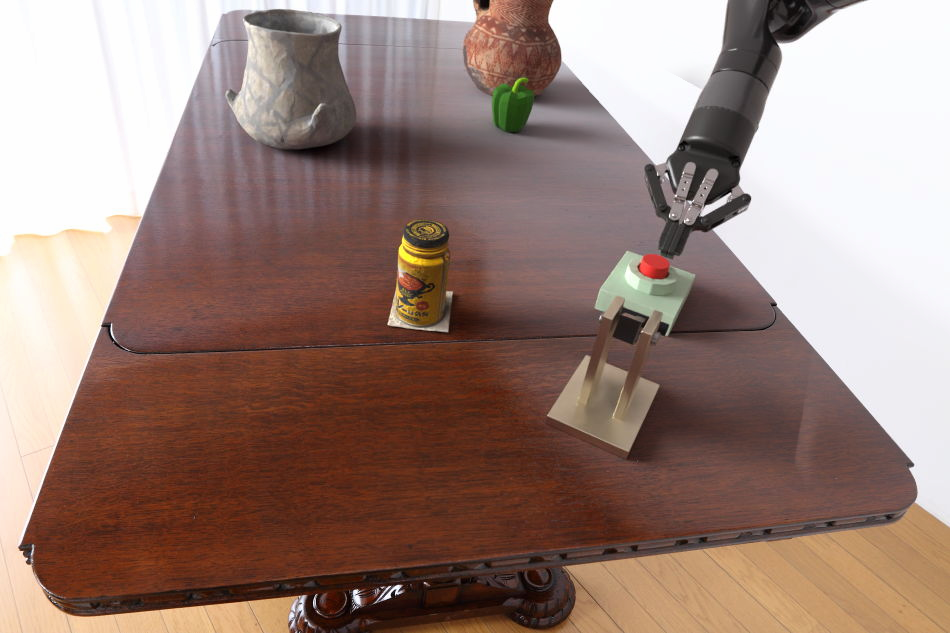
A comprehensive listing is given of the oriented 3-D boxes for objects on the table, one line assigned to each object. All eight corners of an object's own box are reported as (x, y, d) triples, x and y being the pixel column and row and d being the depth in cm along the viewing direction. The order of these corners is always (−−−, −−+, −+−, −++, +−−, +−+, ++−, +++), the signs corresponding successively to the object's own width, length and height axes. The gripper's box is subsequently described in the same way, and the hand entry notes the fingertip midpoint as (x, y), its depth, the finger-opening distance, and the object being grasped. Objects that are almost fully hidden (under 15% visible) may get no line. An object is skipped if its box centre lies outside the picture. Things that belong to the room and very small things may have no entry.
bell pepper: (492, 134, 133) (499, 84, 127) (485, 119, 140) (491, 69, 134) (533, 137, 135) (542, 87, 129) (524, 121, 141) (533, 73, 135)
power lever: (614, 320, 79) (621, 301, 79) (663, 339, 77) (671, 319, 77) (594, 329, 68) (602, 307, 67) (651, 352, 66) (660, 329, 65)
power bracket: (583, 362, 80) (609, 271, 73) (657, 392, 78) (691, 301, 70) (544, 423, 71) (569, 327, 64) (626, 460, 69) (662, 364, 61)
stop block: (621, 269, 98) (630, 239, 95) (689, 293, 95) (700, 263, 92) (594, 308, 89) (603, 277, 86) (667, 337, 86) (679, 305, 83)
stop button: (643, 261, 92) (646, 250, 90) (669, 271, 90) (673, 260, 89) (635, 273, 89) (639, 262, 88) (662, 283, 88) (666, 272, 87)
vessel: (248, 108, 129) (239, -6, 117) (365, 123, 130) (367, 12, 118) (208, 154, 112) (193, 26, 100) (343, 171, 113) (344, 47, 101)
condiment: (387, 326, 81) (392, 240, 74) (396, 286, 88) (401, 204, 81) (447, 333, 81) (458, 248, 74) (452, 293, 88) (462, 211, 81)
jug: (559, 86, 163) (582, -29, 148) (547, 114, 146) (571, -12, 131) (470, 68, 166) (483, -46, 151) (448, 94, 149) (460, -31, 134)
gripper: (669, 90, 77) (610, 225, 76) (787, 122, 73) (728, 266, 72) (667, 122, 85) (613, 246, 83) (775, 153, 81) (720, 284, 79)
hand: (666, 255), depth 77 cm, fingers closed
